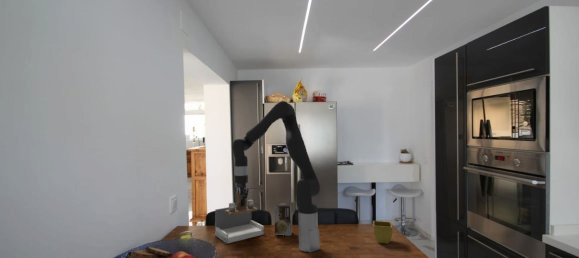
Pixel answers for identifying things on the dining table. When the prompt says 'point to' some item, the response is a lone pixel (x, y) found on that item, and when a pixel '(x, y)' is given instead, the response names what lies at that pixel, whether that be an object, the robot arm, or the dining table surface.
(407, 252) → the dining table surface
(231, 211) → the tray
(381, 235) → the flower pot
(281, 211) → the coffee box
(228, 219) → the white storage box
